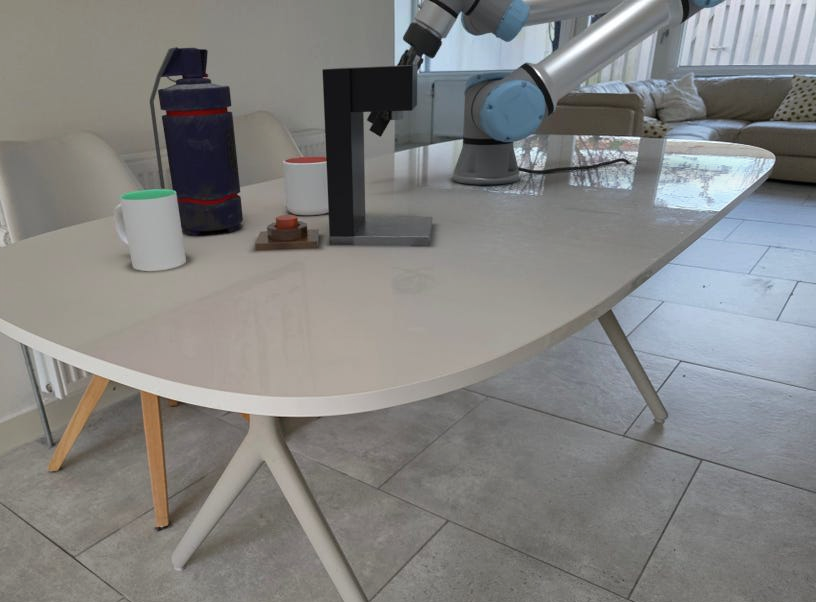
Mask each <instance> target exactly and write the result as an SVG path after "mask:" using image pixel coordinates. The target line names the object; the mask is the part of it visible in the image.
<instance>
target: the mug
mask: <svg viewBox="0 0 816 602" xmlns="http://www.w3.org/2000/svg"><path fill="white" fill-rule="evenodd" d="M119 202H120V203H119V204H117V205H116V206H115V208H114V213H113V220H114V227H115V230H116V232H117V235H118V237H119V238H120V240H121V241H122V243H123V244H125V245H126V246H128V249H129V255H130V260H131V265H132V266H131V267H132V268H133V269H134V270H137V271H143V272H154V271H156V272H157V271H165V270H170V269H174V268H178V267H180V266H182V265H184V264H186V262H187V256H186V249H185V244H184V236H183V230H182V229H183V228H181V222H180V215H179V208H178V202H177V195H176V191H174V190H173V189H165V188H164V189H162V188H157V189H144V190H136V191H135V190H134V191H130V192H127V193H124V194H121V195H120V196H119Z"/></svg>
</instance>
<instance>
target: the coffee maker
mask: <svg viewBox="0 0 816 602" xmlns="http://www.w3.org/2000/svg"><path fill="white" fill-rule="evenodd" d="M417 69H418V65H402V66H397V65H383V66H382V65H380V66H357V67H356V66H355V67H334V68H323V69H322V91H323V93H322V94H323V115H324V135H325V136H324V138H325V140H324V141H325V157H326V164H327V187H328V210H329V213H328V230H329V231H328V232H329V245H330V246H403V247H405V246H410V247H429V246H430V241H431V234H432V227H433V216H366V188H365V187H366V179H365V178H366V177H365V173H366V172H365V133H364V132H365V123H364V122H365V121H364V120H365V118H364V117H365V116H364V115H365V114H364V113H371V112H382V111H388V120H390V121H399V120H400V121H401V120H403V119H404V112H410V111H413V110H414V109H415V108H416V107H417V106H418V71H417Z"/></svg>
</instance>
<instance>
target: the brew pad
mask: <svg viewBox="0 0 816 602" xmlns="http://www.w3.org/2000/svg"><path fill="white" fill-rule="evenodd" d="M319 238H320V230H319V228H318V229H317V228H316V229H308V223H307V222H304V221H300V220H298V227H294V228H284V229H282V228H276V221H275V222H272V223H269V224H268V225H267V227H266V230H264V231H262V230H261V231H260V232H259V235H258V237H257V238H256V240H255V243H254V246H255V247H254V248H255V251H256V252H259V251H282V250H283V251H285V250H286V251H287V250H309V249H310V250H311V249H312V250H313V249H314V250H315V249H318V248H319V240H320V239H319Z"/></svg>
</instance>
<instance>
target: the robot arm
mask: <svg viewBox="0 0 816 602" xmlns="http://www.w3.org/2000/svg"><path fill="white" fill-rule="evenodd" d="M724 2H726V0H423V1H422V2H421V1H419V2H418V3H417V4H416V7H417V8H418V10H417V11H416V13H415V15H414V16H413V19H414V21H415V22H410V23H409V25H408V26H407V29H406V31H405V32H404V34H403V36H402V40H403V42H405V43H406V44H408V45H410V47H409V49H407V48H406V49H405V50H404V52H403V53H402V54H401V56H400V58H399V61H398V63H397V64H396V66H402V65H418V69H417V72H418V71H419V70H420V68H421V66H422V64H423V63H424V60H425V59H424V58H423V55H424V56H426V57H428V58H430V59H434V58H435V57H436V56H437V54H438V52H439V51H440V48H441V47H442V45H443V39H446V38H447V37H448V35H449V33H450V32H451V30H452V29H453V26H454V25H455V24H456V21H457V19H458V17H459V15H460V22H461V25H462V27H463V29H464V30H465V32H467V33H468V34H470V35H472V36H476V37H477V36H484V35H487V34H493V36H495V38H498V39H500V40H502V41H503V42H505V43H509V42H512V41H513V40H514V39H515V38H516V37H517V36H518V35H519V34H520V32H521V31H522V30H523V28H527V27H532V26H537V25H543V24H549V23H555V22H561V21H565V20H566V21H567V20H572V19H578V18H583V17H584V18H585V17H591V16H595V15H602V16H601V17H600V18H598V19H597V20H595V21H594V22H592V23H591V24H590V25H588V26H587V27H586V28H584V29H583V30H582V31H580V32H579V33H578V34H576V35H575V36H573V37H571V39H569V40H567V41H566V42H565V43H563V44H562V45H561V46H560V47H558V48H557V49H555V50H554V51H553V52H551V53H550V54H548V55H547V56H545V57H544V58H543V59H541V60H540V61H538V62H537V63H533V62H527V61H526V62H524V63H523V64H521V65H520V66H518V67H517V68H516V69H514V70H513V71H512V72H510V71H509V72H505V71H502V72H500V71H499V72H488V73H482V74H475V75H471V76H470V77H468V78H467V80H466V83H465V88H464V92H463V95H464V105H463V107H464V108H463V109H464V110H463V128H462V129H463V131H462V132H463V133H462V148H461V151H460V153H459V156H458V160H457V162H456V164H455V167H454V170H453V181H454V182H457V183H460V184H465V185H476V186H478V185H479V186H480V185H481V186H494V185H506V184H512V183H516V182H517V181H519V178H520V177H519V176H520V172H523V173H528V174H532V175H539V174H549V173H556V172H566V171H580V170H590V169H597V168H601V167H604V166H610V165H613V164H616V163H617V164H618V163H620V162H621V163H622V162H623V163H624V164H626V165H631V162H630V161H629V160H628V159H627V158H615V159H612V160H609V161H604V162H599V163H596V164H590V165H579V166H563V167H553V168H548V169H540V170H539V169H538V170H537V169H529V168H525V167H519V164H518V161H517V157H516V152H515V148H514V142H519V141H522V140H525V139H527V138H528V137H530V136H532V135H533V134H534V133H535V132H536V131H537V130H538V129H539V127H540V125H541V124H542V122H543V120H545V119H547V117H549V116H550V115H551V114H553V113H555V111H556V109H557V105H558V102H559V100H560V99H562V98H564V97H565V96H566V95H568V94H569V93H571V92H573V90H575V89H576V88H578V87H579V86H581V85H582V84H583V83H585V82H587V81H588V80H589V79H591V78H592V77H594V76H595V75H596V74H598V73H599V72H601V71H602V70H603V69H605V68H606V67H608V66H610V65H611V64H612V63H614V62H615V61H617V60H618V59H619V58H621V57H622V56H623V55H625V54H626V53H628V52H629V51H631V50H632V49H634V48H635V47H637V46H638V45H639V44H642V42H644V41H645V40H647V39H648V38H649V37H651V36H653V35H654V34H656V32H658V31H660V30H661V29H662V28H664V27H665V28H668V29H669V28H670V29H675V28H677V27H679V26H680V25H681V24H683V23H684V22H687V21H688V20H689V19H690V18H693V16H695V15H696V14H698V13H699V12H701V11H702V10H704V9H711V8H715V7H716V6H718V5H720V4H722V3H724ZM603 14H604V15H603ZM366 121H367V122H369V123H371V126H370V128H369V131H370V132H372V133H373V134H375V135H377V136H378V137H379V138H381V137H382V136H383V134H384V132H385V130H386V129H387V127H388V125H389V123H390V122H391V120H388V111H382V112H369V114H368V117H366Z"/></svg>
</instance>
